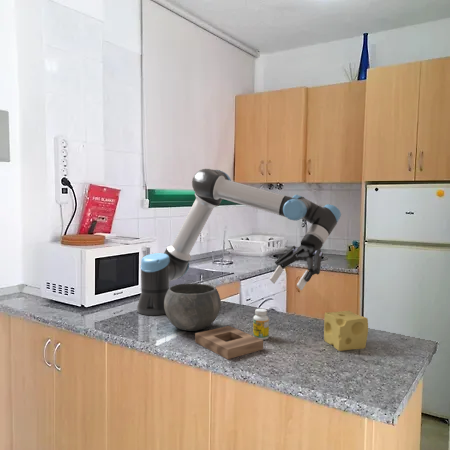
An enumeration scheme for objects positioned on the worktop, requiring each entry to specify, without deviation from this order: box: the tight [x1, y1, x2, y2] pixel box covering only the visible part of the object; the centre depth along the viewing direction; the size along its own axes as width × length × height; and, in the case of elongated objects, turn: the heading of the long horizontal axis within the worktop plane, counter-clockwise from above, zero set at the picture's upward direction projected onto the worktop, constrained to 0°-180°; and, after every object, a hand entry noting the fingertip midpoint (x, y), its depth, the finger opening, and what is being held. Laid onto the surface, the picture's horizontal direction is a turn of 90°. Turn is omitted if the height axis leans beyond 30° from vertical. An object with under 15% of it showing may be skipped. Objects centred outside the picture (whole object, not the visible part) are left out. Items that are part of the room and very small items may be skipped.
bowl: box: [164, 283, 222, 332], centre depth 154 cm, size 20×20×15 cm
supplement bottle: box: [252, 308, 270, 341], centre depth 145 cm, size 5×5×10 cm
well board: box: [194, 325, 264, 360], centre depth 137 cm, size 18×14×3 cm
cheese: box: [323, 310, 369, 352], centre depth 138 cm, size 10×11×10 cm
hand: (285, 284), depth 150 cm, fingers open, 13 cm apart
